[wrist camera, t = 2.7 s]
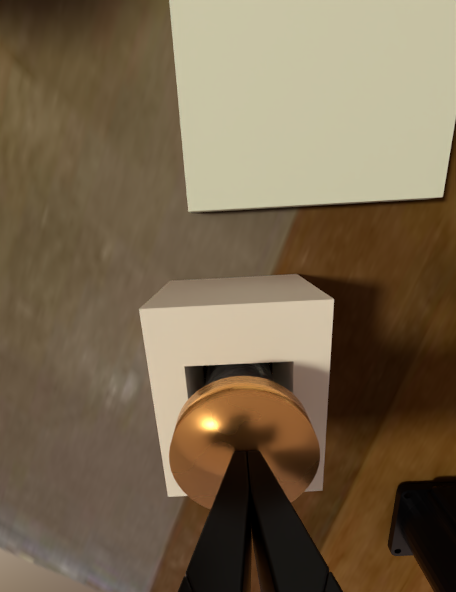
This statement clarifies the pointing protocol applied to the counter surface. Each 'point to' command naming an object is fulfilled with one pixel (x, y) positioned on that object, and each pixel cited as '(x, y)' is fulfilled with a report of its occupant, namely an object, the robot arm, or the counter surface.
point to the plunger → (242, 432)
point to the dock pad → (314, 100)
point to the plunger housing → (238, 344)
